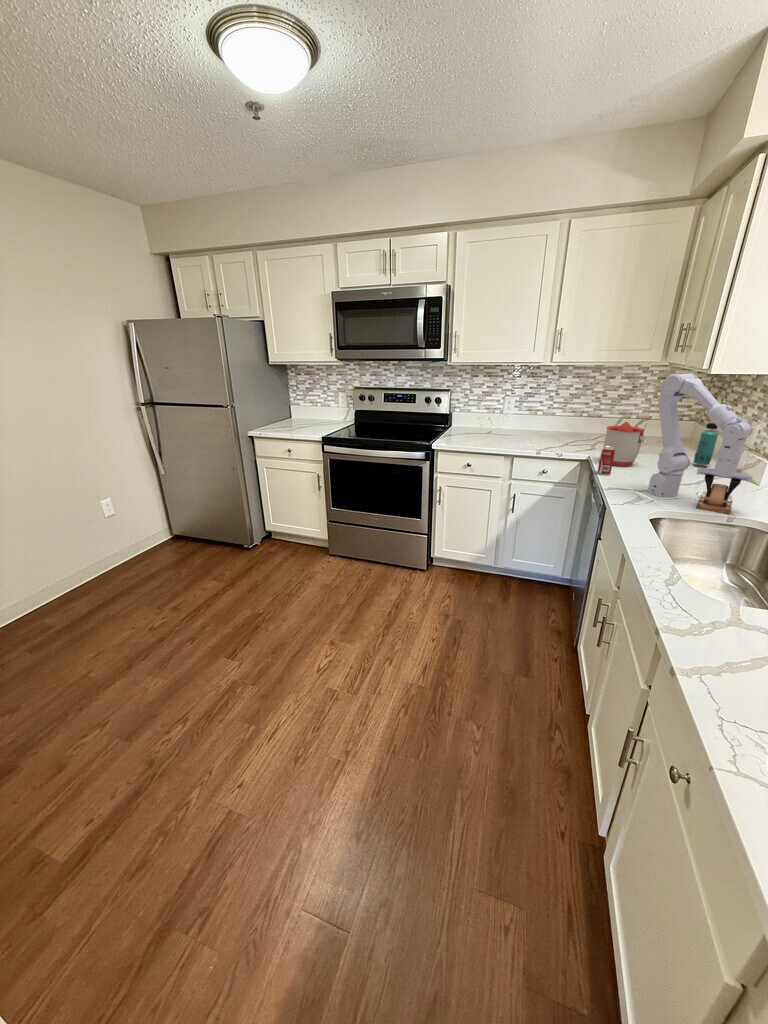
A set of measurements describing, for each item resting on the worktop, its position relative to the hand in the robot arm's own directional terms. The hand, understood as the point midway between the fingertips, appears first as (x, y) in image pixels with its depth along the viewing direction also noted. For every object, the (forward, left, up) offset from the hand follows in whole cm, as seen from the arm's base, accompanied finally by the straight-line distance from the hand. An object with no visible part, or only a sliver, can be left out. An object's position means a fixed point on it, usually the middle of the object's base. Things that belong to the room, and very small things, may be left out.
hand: (716, 497), depth 144 cm
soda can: (-10, +46, -5) cm, 47 cm away
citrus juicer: (+8, +60, -5) cm, 61 cm away
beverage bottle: (+42, +50, -5) cm, 66 cm away
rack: (+3, +3, -4) cm, 6 cm away
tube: (0, 0, -3) cm, 3 cm away
